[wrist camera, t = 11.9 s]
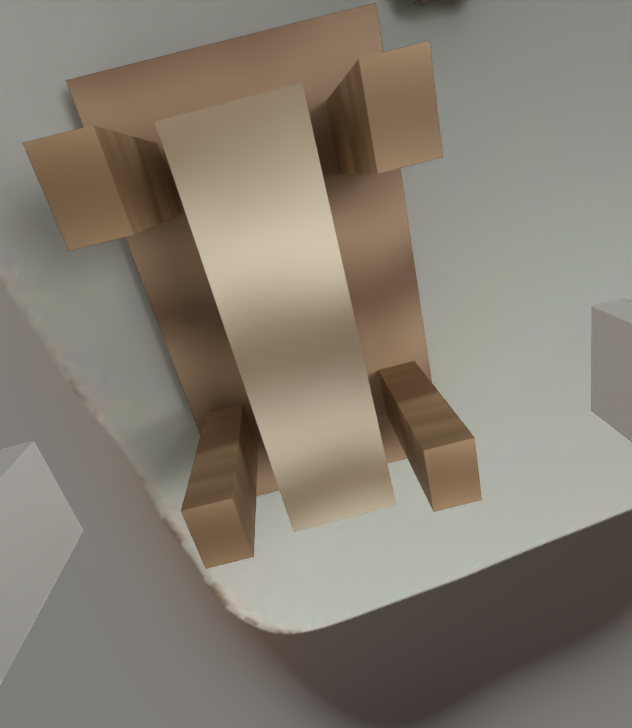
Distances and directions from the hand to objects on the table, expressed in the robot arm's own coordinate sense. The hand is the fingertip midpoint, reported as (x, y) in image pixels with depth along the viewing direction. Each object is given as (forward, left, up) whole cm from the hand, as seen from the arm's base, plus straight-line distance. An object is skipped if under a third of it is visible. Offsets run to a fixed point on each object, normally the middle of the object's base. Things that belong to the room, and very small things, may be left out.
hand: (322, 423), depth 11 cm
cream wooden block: (0, 0, -13) cm, 13 cm away
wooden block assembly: (0, 0, -15) cm, 15 cm away
